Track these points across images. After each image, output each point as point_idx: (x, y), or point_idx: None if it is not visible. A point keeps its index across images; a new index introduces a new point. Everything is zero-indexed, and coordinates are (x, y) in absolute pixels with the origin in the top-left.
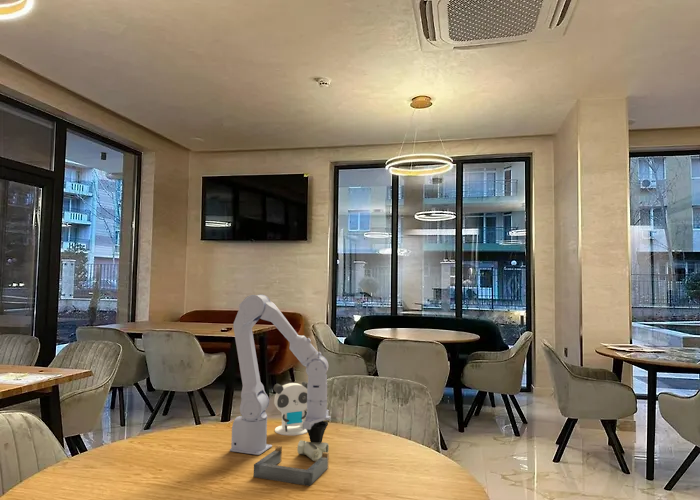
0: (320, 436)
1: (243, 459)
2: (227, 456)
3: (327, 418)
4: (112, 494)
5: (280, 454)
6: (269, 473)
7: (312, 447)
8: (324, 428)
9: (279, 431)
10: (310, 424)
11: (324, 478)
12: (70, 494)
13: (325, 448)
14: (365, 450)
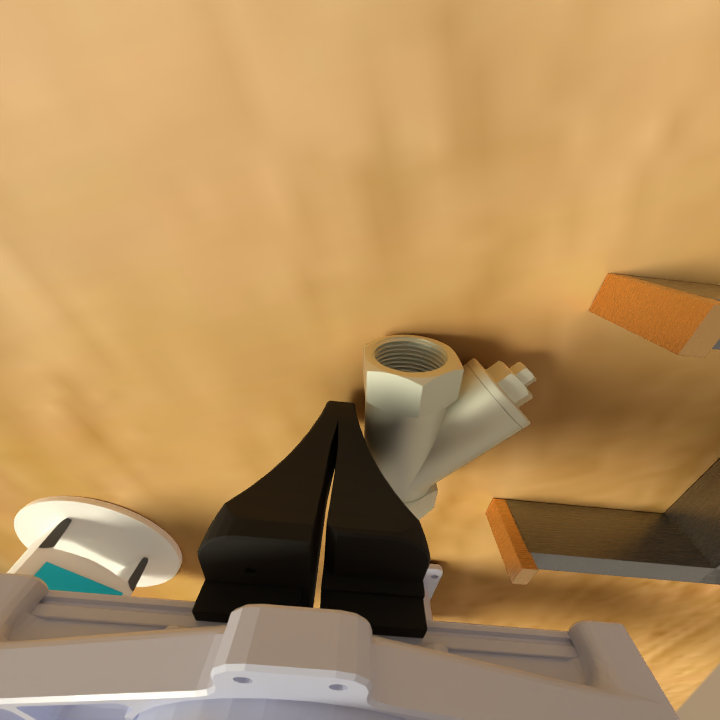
0: (367, 460)
1: (482, 582)
2: (458, 611)
3: (369, 662)
4: (707, 676)
5: (518, 531)
6: None
7: (490, 445)
8: (309, 496)
9: (163, 572)
10: (659, 707)
11: None
12: (684, 701)
13: (455, 365)
14: (135, 26)
